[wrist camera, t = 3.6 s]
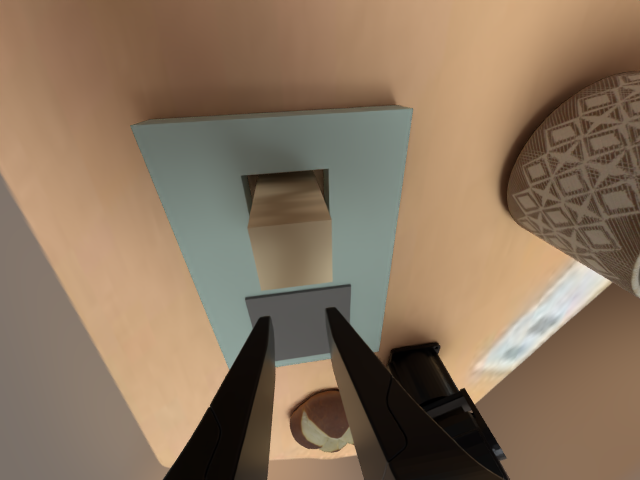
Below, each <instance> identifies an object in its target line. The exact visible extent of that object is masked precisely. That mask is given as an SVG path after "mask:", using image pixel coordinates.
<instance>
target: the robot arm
mask: <svg viewBox="0 0 640 480" xmlns="http://www.w3.org/2000/svg"><path fill="white" fill-rule="evenodd" d="M325 322H326V330H327V337H328V343H329V349H330V355H331V361H332V366H333V370H334V374H335V378H336V381H337V385H338V388H339V392H340V395H341V399H342V403H343V406H344V410H345V413H346V417H347V420H348V424H349V427H350V431H351V434H352V438H353V442H354V445H355V449H356V452H357V456H358V459H359V463H360V466H361V470H362V474H363V477H364V480H510V478H509V476H508V475H507V473H506V471H505V470H504V468H503V466H502V464H501V463H500V460H504V459H506V456H505V454H504V453H503V451H502V449H501V448H500V446H499V444H498V443H497V441H496V439H495V438H494V436H493V434H492V433H491V431H490V429H489V428H488V427H487V424H486V423H485V421H484V420H483V418H482V416H481V415H480V413H479V411H478V410H477V408H476V406H475V405H474V403H473V401H472V400H471V398H470V396H469V395H468V393H467V391H466V390H465V388H463V389H460V391H459V390H458V388H457V387H456V385H455V383H454V381H453V380H452V378H451V376H450V375H449V373H448V371H447V369H446V368H445V366H444V364H443V362H442V361H441V359H440V357H439V356H438V353H439V350H440V345H439V344H438V343H432V344H426V345H419V346H413V347H406V348H400V349H394V350H392V351H391V354H390V359H389V363H388V365H387V368H386V367H385V366H384V364H383V363H382V362H381V361H380V360H379V358H378V357H377V356H376V355H375V354H374V352H373V351H372V350H371V349H370V348H369V346H368V345H367V344H366V343H365V341H364V340H363V339H362V338H361V337H360V335H359V334H358V333H357V332H356V331H355V329H354V328H353V327H352V326H351V325H350V323H349V322H348V321H347V320H346V319H345V317H344V316H343V315H342V314H341V313H340V311H339V310H338V309H337V308H336V307H327V308H325ZM274 389H275V342H274V329H273V324H272V319H271V316H269V315H268V316H261V317H259V319H258V320H257V322H256V324H255V326H254V327H253V329H252V331H251V333H250V334H249V336H248V338H247V340H246V342H245V343H244V345H243V347H242V349H241V350H240V352H239V354H238V356H237V358H236V359H235V361H234V363H233V365H232V366H231V368H230V370H229V372H228V374H227V375H226V377H225V379H224V381H223V383H222V384H221V386H220V388H219V390H218V391H217V393H216V395H215V397H214V399H213V400H212V402H211V404H210V407H209V408H208V409H207V411H206V413H205V414H204V416H203V418H202V420H201V421H200V423H199V425H198V426H197V428H196V430H195V432H194V433H193V435H192V437H191V438H190V440H189V441H188V443H187V444H186V446H185V447H184V449H183V451H182V452H181V454H180V455H179V457H178V458H177V460H176V461H175V463H174V464H173V466H172V467H171V468H170V470H169V471H168V473H167V474H166V476H165V477H164V479H163V480H267V476H268V463H269V451H270V439H271V426H272V414H273V401H274ZM471 410H472V411H473V413H470V412H469V411H471Z"/></svg>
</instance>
